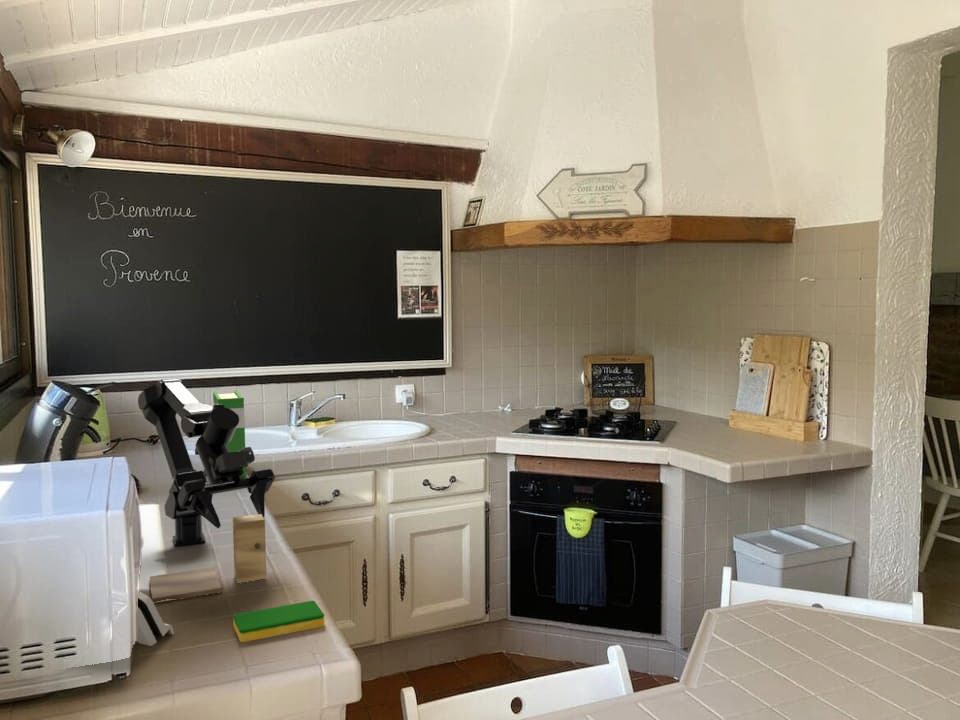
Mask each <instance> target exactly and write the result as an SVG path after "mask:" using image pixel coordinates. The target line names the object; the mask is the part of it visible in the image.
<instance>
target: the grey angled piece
mask: <svg viewBox="0 0 960 720" xmlns="http://www.w3.org/2000/svg"><path fill="white" fill-rule="evenodd" d="M157 609H158V608H157V607H156V606H155V604H154V603H153V601H152V597H149V596H148V595H147V594H145V593H144V592H141V591H140V590H138V644H141V645H144V646H149V647H151V646H154V645H155V644H157V643H158V641H157V640H158V637H164V636H165V635H166V634H168V635H171V636H172V635H173V636H174V635H175V631H174V629H173V626H172V625H171V624H168V623H164V621H163V619H162V617H161V615H160V614H159V611H158V610H157Z"/></svg>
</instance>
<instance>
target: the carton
mask: <svg viewBox="0 0 960 720" xmlns="http://www.w3.org/2000/svg"><path fill="white" fill-rule="evenodd" d="M212 397H213V398H212V399H213V401H212V402H213V406H214V405H216V404H224V407H225V408H228V409H231V410H233V411H234V412H235V413H236V414H238V416H239V423H238V426H237V428H236V430H235V432H234V434H233V437H232V439H231V441H230V442H229V443H228V444H226V446H227V448H228V451H229V452H236V451H240V450H241V449H242V448H245V447H246V427H245V401H244V400H245V399H244V396H243V395H242V394H241V393H240V392H239V391H238V390H234V393H233V392H232V393H218V392H217V391H213V392H212ZM243 471H244V472H243V474H242V475H240V476H239V477H240V478H244V477H246V478H247V467H246V466H245V467H244V468H243Z"/></svg>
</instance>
